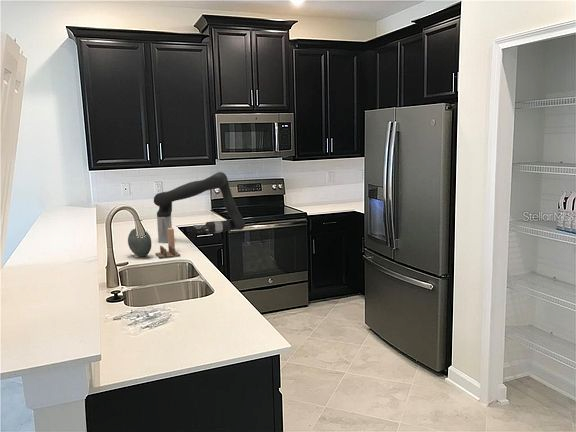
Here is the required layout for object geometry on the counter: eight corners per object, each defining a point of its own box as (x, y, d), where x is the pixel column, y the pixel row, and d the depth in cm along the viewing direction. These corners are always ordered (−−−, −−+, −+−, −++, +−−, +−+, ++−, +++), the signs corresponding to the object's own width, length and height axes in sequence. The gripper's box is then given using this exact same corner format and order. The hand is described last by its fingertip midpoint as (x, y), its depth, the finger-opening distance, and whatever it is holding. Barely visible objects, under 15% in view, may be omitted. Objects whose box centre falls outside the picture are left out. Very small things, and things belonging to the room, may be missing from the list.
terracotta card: (168, 250, 300) (167, 227, 298) (172, 249, 302) (171, 227, 299) (170, 252, 295) (169, 229, 293) (174, 251, 296) (173, 229, 294)
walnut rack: (155, 254, 289) (154, 246, 288) (175, 252, 294) (174, 244, 294) (159, 258, 279) (159, 250, 278) (180, 256, 284) (180, 248, 283)
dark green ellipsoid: (146, 252, 295) (144, 216, 291) (154, 258, 281) (152, 220, 277) (126, 255, 289) (124, 218, 285) (134, 260, 275) (131, 222, 271)
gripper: (210, 219, 314) (185, 222, 307) (217, 222, 302) (192, 225, 295) (211, 231, 316) (186, 233, 308) (218, 234, 303) (192, 237, 296)
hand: (189, 229), depth 301 cm, fingers open, 8 cm apart
